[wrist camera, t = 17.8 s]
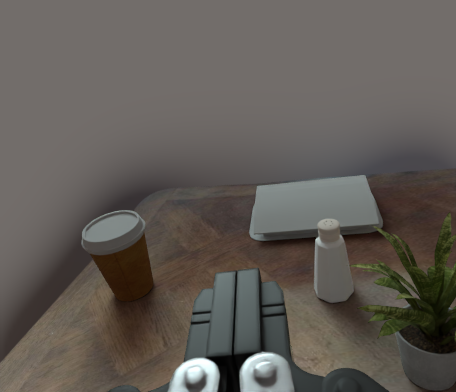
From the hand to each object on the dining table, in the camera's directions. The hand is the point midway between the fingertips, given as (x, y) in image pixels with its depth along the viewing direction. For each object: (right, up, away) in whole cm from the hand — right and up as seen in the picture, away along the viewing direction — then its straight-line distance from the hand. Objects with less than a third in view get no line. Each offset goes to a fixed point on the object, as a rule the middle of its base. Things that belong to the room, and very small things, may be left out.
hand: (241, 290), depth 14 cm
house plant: (+21, -15, +30) cm, 39 cm away
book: (+15, 0, +60) cm, 62 cm away
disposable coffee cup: (-15, -12, +50) cm, 54 cm away
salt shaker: (+14, -10, +42) cm, 45 cm away
